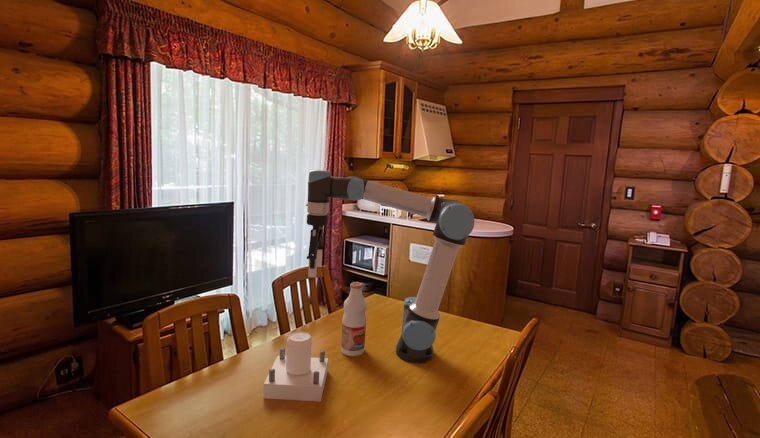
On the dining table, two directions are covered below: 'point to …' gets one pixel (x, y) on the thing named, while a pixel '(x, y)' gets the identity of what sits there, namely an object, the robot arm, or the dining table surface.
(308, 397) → the peg stand
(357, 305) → the fruit juice
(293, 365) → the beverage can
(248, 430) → the dining table surface
